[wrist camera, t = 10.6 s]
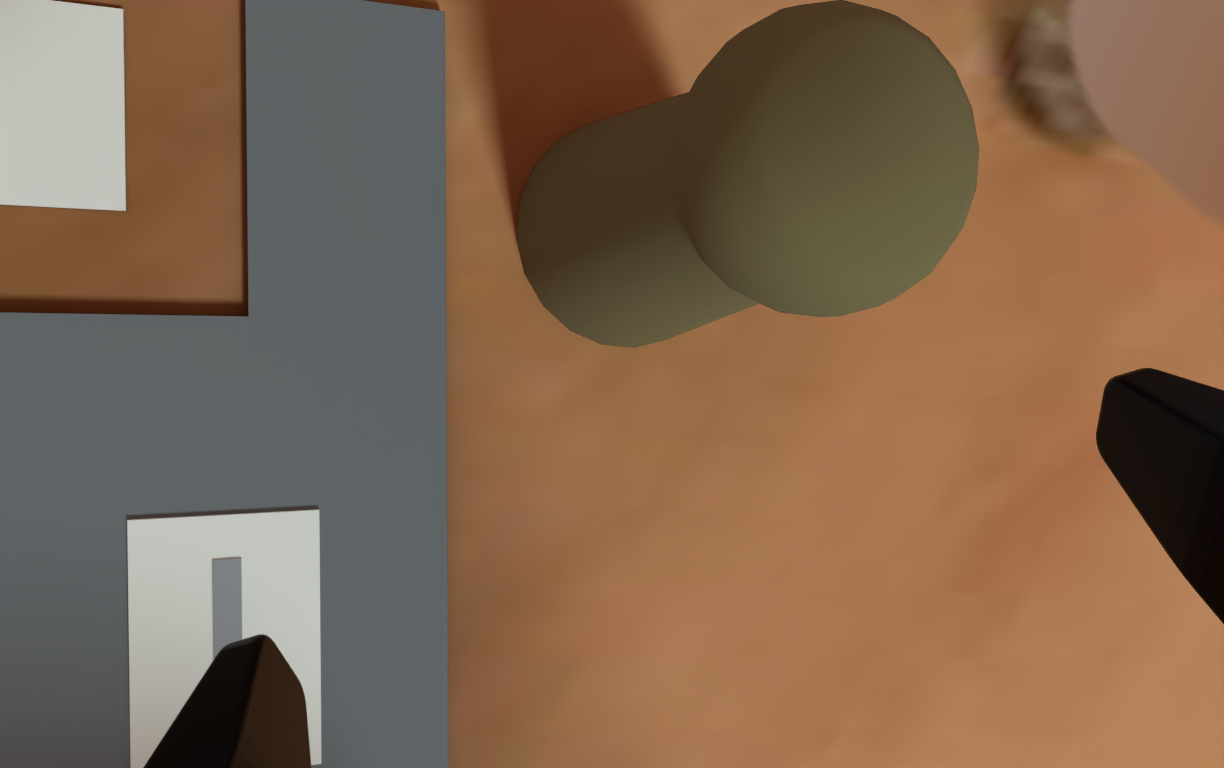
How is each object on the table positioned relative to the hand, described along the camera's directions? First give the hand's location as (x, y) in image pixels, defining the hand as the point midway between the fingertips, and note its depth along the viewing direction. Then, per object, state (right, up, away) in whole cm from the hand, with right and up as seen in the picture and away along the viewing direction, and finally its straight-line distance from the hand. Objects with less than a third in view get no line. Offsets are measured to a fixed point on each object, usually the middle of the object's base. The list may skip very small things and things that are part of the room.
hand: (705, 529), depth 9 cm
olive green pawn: (-1, +5, +15) cm, 16 cm away
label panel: (-12, 0, +11) cm, 16 cm away
